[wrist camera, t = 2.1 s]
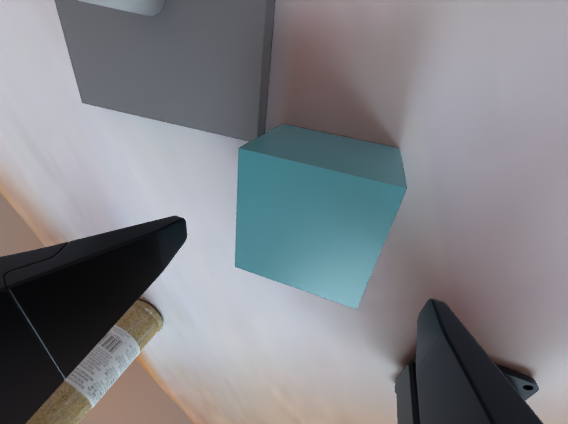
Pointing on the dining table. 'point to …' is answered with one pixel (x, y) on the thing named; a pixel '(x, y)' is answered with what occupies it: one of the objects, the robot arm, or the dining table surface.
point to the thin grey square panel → (174, 60)
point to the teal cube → (316, 209)
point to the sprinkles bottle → (100, 367)
